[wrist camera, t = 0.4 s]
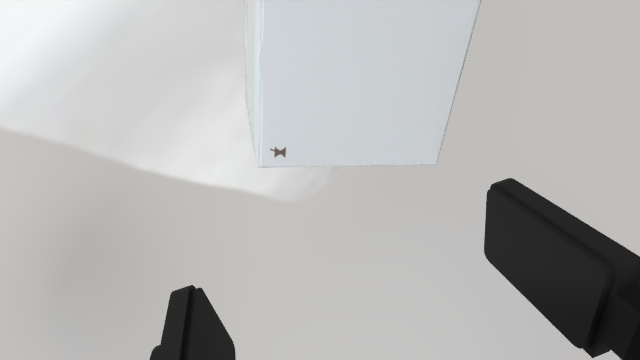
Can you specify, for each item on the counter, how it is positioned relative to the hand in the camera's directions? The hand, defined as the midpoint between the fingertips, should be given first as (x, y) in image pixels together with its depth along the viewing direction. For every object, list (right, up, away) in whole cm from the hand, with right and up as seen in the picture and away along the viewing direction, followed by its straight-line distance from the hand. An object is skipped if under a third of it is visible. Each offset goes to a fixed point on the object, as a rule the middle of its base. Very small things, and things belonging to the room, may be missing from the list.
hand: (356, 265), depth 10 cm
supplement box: (-2, +17, +24) cm, 30 cm away
